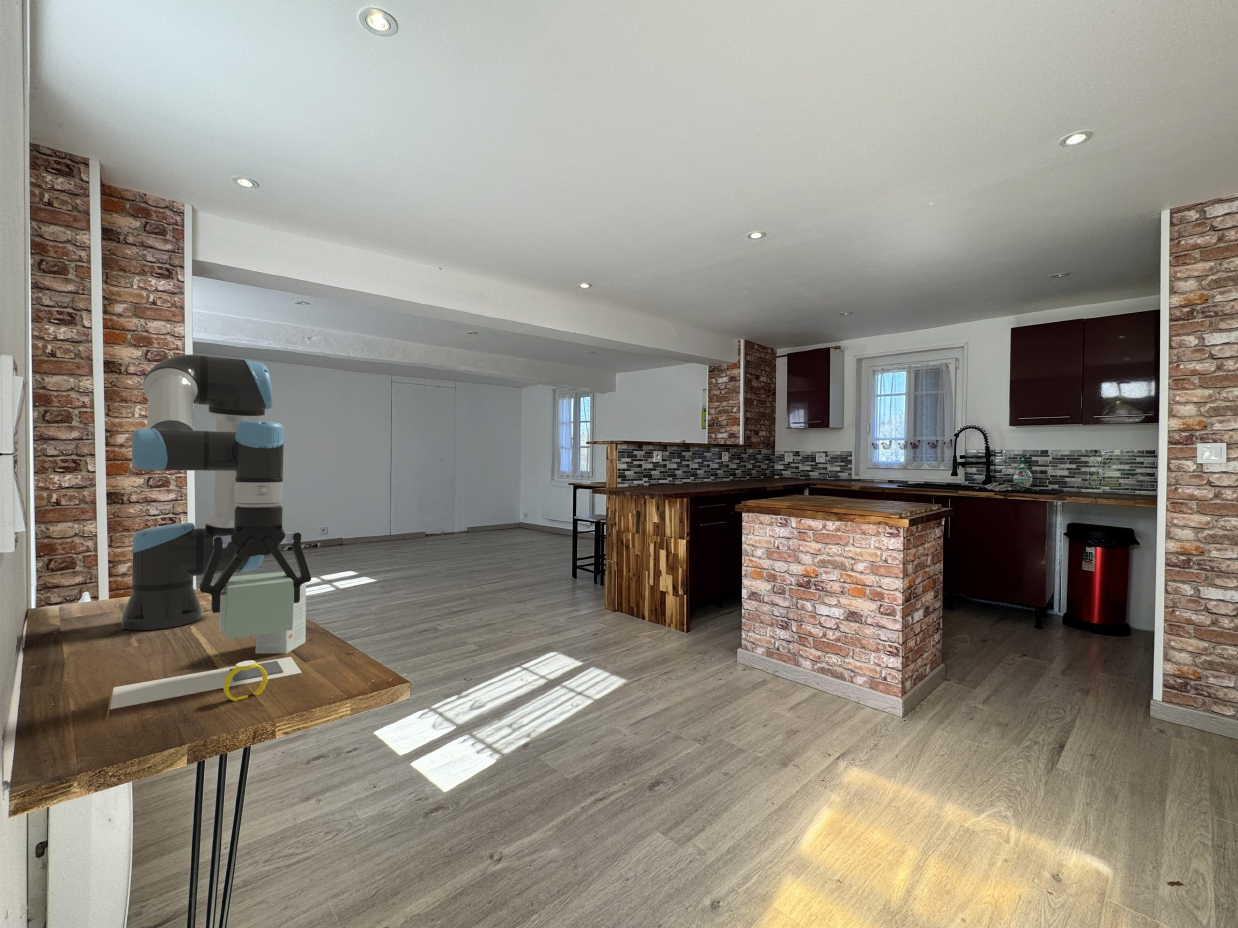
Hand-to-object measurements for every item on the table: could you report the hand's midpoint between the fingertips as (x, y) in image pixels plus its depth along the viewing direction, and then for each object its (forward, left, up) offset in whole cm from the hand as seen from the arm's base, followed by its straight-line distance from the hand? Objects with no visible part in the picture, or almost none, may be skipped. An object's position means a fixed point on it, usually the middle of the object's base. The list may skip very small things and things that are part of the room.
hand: (256, 625), depth 107 cm
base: (0, -7, -9) cm, 11 cm away
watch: (+13, -3, -9) cm, 16 cm away
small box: (-13, +6, -9) cm, 17 cm away
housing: (0, 0, -1) cm, 1 cm away
